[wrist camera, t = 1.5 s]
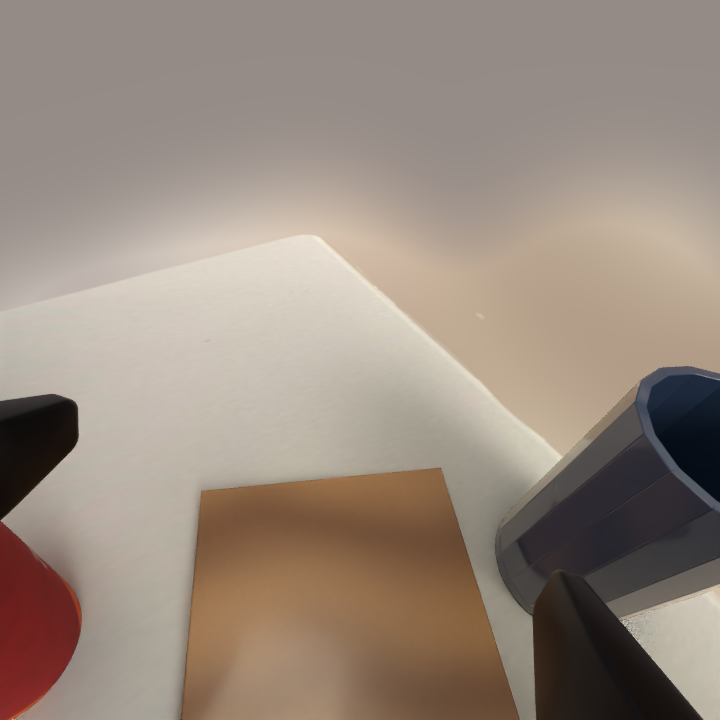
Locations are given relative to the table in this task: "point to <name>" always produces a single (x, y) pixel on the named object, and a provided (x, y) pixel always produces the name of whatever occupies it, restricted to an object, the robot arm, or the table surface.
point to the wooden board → (339, 606)
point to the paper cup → (32, 625)
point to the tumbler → (628, 502)
